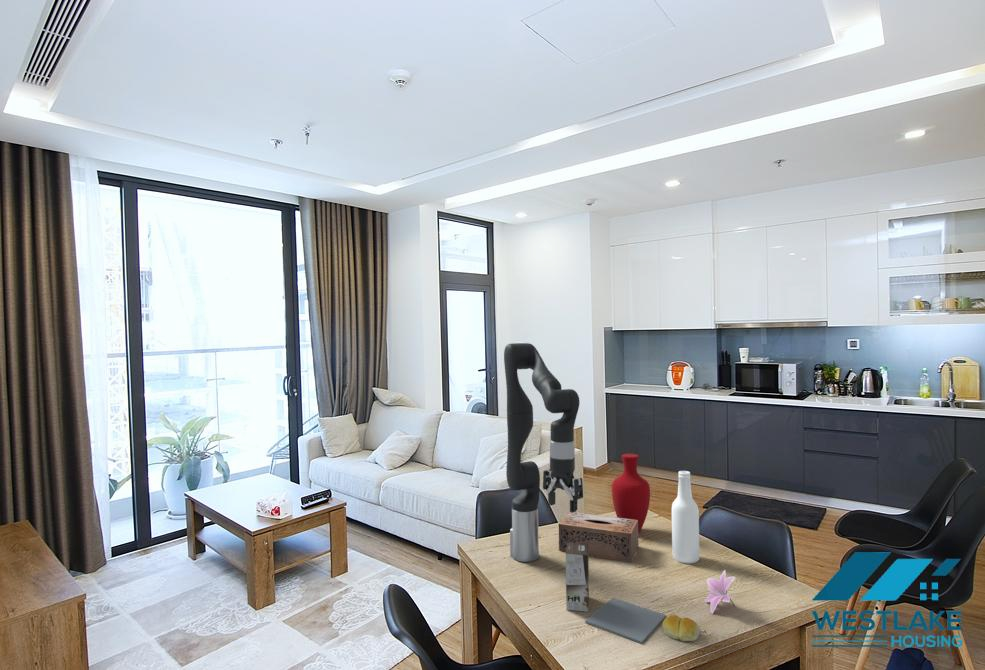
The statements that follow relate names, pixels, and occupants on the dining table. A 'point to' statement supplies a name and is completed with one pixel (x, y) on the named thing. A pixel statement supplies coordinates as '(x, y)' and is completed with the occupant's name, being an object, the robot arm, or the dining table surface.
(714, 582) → the lily
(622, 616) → the mat
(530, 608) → the dining table surface
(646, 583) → the dining table surface
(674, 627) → the bread roll
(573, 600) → the coffee box
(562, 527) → the tissue box cover
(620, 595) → the dining table surface
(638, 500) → the vase
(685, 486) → the alcohol
